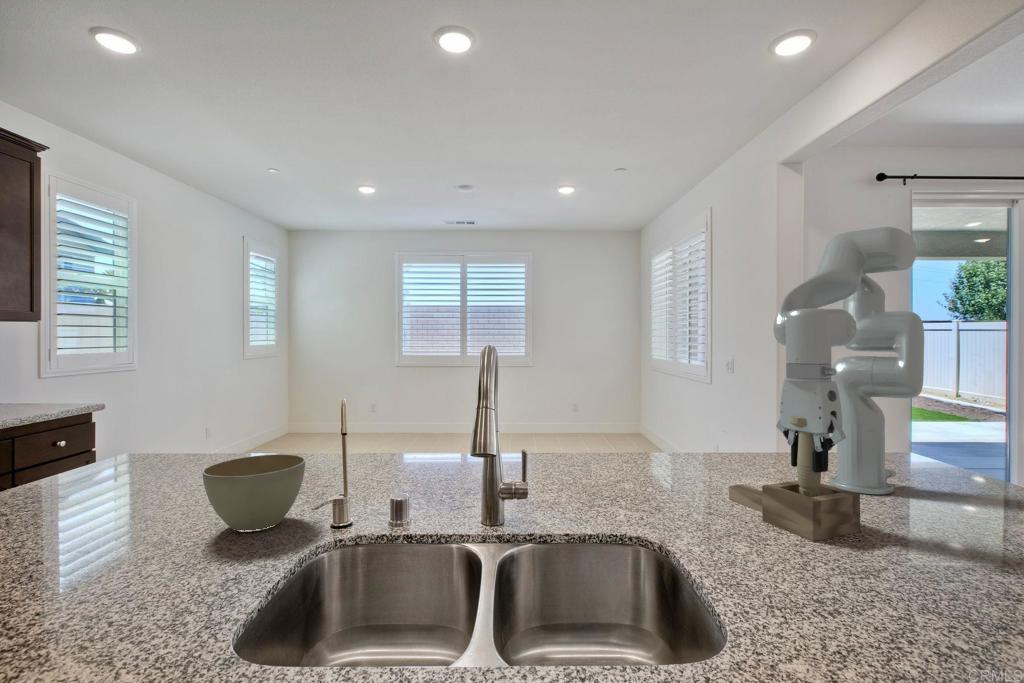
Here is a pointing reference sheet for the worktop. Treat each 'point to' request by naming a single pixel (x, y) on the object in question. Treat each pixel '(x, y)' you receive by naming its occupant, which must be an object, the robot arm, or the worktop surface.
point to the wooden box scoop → (803, 509)
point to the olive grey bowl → (254, 489)
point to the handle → (806, 461)
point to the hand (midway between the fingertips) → (809, 467)
